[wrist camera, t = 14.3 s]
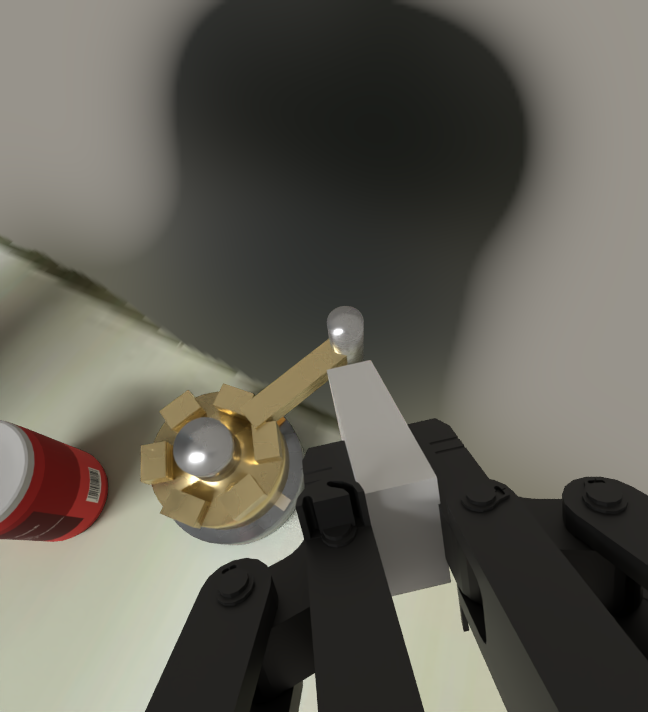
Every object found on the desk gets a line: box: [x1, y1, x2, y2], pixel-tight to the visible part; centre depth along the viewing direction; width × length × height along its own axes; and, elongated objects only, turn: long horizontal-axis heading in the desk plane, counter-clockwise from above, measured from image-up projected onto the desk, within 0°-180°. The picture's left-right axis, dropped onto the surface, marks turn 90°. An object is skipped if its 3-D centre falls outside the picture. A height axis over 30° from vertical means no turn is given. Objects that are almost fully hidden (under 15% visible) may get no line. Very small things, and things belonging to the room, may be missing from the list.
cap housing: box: [174, 416, 305, 545], centre depth 38 cm, size 12×12×3 cm
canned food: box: [0, 420, 108, 542], centre depth 35 cm, size 8×8×11 cm
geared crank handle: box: [141, 306, 363, 530], centre depth 34 cm, size 19×10×9 cm, turn 129°
